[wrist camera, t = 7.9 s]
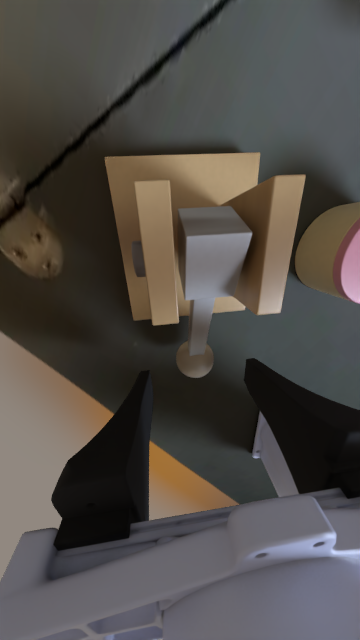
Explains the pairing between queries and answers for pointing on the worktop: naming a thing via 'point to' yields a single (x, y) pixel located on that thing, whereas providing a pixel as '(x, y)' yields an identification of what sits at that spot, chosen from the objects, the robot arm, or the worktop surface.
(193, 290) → the lever with ball knob
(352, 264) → the cake
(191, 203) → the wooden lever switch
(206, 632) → the robot arm
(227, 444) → the worktop surface
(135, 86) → the worktop surface
